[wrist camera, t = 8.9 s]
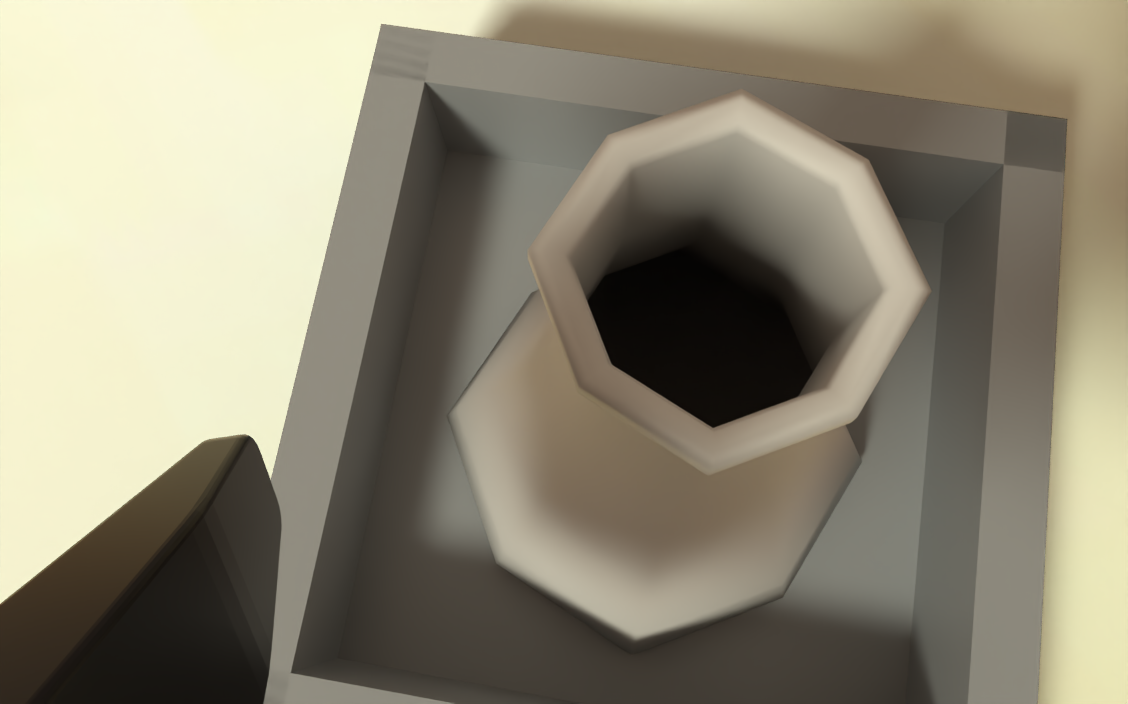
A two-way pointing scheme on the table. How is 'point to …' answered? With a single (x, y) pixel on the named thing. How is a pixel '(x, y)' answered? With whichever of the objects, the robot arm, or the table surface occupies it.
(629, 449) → the flask
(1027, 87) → the table surface
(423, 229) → the grey compartment tray
